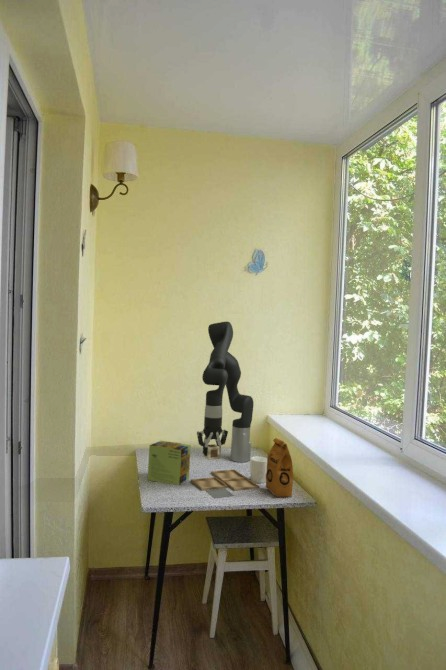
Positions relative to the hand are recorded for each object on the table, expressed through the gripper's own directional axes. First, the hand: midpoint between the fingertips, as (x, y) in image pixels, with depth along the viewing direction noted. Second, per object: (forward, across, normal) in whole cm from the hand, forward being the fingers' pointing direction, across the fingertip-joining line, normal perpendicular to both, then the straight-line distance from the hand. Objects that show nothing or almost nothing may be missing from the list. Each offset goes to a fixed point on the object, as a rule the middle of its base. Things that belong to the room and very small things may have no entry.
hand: (211, 454), depth 219 cm
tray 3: (+14, -12, +4) cm, 19 cm away
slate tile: (+13, +1, +11) cm, 17 cm away
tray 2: (+14, -13, -8) cm, 20 cm away
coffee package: (+14, -24, +16) cm, 32 cm away
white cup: (+14, -24, 0) cm, 27 cm away
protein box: (+14, +14, -12) cm, 23 cm away
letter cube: (+1, 0, 0) cm, 1 cm away
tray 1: (+13, 0, 0) cm, 13 cm away
